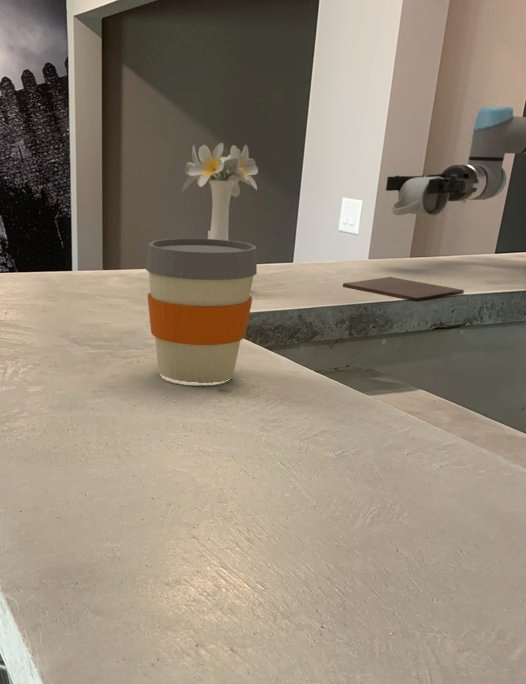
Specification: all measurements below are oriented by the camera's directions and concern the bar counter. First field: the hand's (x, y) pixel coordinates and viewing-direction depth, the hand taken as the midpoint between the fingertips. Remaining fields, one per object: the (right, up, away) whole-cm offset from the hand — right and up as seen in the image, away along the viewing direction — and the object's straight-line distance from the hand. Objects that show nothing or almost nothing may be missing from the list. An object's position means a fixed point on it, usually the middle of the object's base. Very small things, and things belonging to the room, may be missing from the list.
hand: (408, 185), depth 158 cm
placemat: (-5, -25, -10) cm, 27 cm away
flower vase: (-42, -27, -16) cm, 52 cm away
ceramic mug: (+3, -4, +5) cm, 8 cm away
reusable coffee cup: (-48, -50, -66) cm, 96 cm away
